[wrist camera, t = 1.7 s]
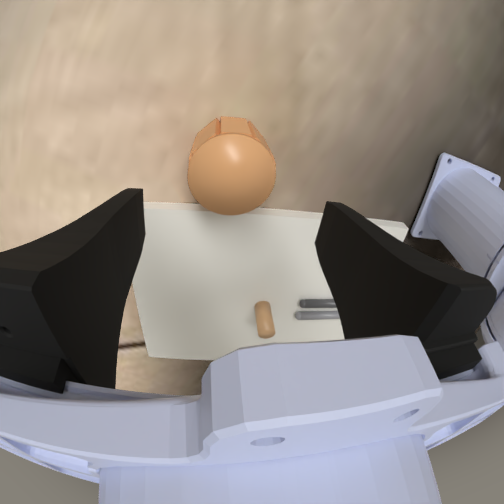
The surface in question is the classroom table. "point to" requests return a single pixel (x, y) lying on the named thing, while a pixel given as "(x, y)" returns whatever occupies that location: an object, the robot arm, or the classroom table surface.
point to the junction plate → (233, 280)
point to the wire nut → (231, 167)
